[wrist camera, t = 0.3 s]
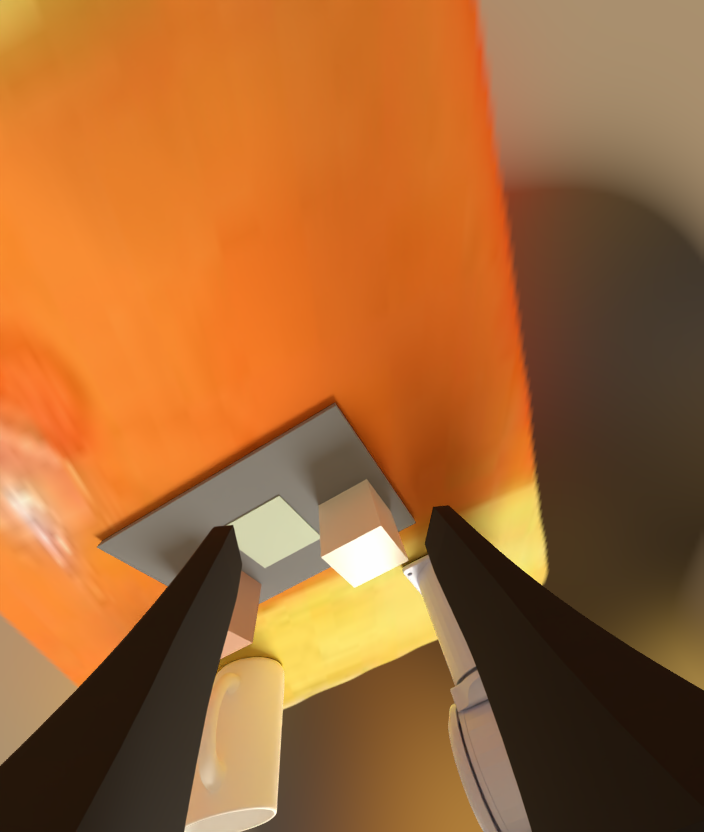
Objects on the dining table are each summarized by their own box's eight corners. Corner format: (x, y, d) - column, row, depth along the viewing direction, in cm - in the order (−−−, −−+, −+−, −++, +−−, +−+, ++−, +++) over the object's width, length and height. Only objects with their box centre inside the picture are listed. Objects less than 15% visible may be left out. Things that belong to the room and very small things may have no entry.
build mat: (413, 518, 24) (416, 523, 24) (230, 613, 26) (228, 620, 26) (335, 402, 18) (336, 406, 17) (101, 541, 20) (95, 548, 19)
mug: (187, 652, 28) (130, 826, 19) (262, 632, 29) (241, 793, 20) (230, 694, 34) (202, 843, 25) (293, 676, 34) (287, 817, 25)
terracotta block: (261, 584, 24) (252, 643, 20) (222, 604, 25) (206, 666, 21) (227, 560, 22) (209, 620, 18) (185, 583, 23) (159, 646, 19)
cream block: (390, 511, 23) (408, 560, 19) (346, 535, 23) (354, 587, 19) (366, 478, 21) (381, 525, 17) (318, 505, 21) (320, 557, 17)
